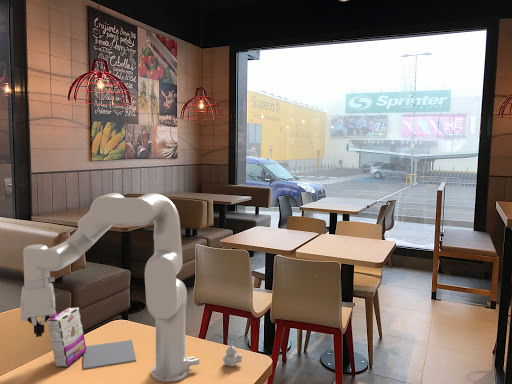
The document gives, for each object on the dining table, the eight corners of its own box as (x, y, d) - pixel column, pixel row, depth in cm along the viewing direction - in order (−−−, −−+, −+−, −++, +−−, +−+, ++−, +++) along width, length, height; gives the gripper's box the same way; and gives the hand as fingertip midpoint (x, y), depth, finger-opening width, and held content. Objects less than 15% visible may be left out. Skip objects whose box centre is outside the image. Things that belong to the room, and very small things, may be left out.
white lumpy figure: (224, 360, 150) (224, 339, 149) (242, 361, 150) (243, 339, 149) (222, 368, 145) (222, 346, 144) (241, 369, 144) (242, 347, 144)
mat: (132, 341, 163) (131, 339, 163) (136, 361, 148) (136, 359, 148) (84, 347, 157) (83, 346, 157) (83, 369, 142) (83, 368, 142)
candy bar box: (74, 351, 154) (67, 307, 153) (87, 351, 153) (80, 307, 152) (54, 367, 143) (46, 320, 142) (67, 367, 142) (59, 319, 141)
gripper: (62, 276, 148) (64, 327, 150) (13, 281, 142) (15, 333, 144) (61, 283, 141) (63, 336, 143) (9, 288, 135) (12, 343, 137)
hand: (39, 335), depth 143 cm, fingers closed
